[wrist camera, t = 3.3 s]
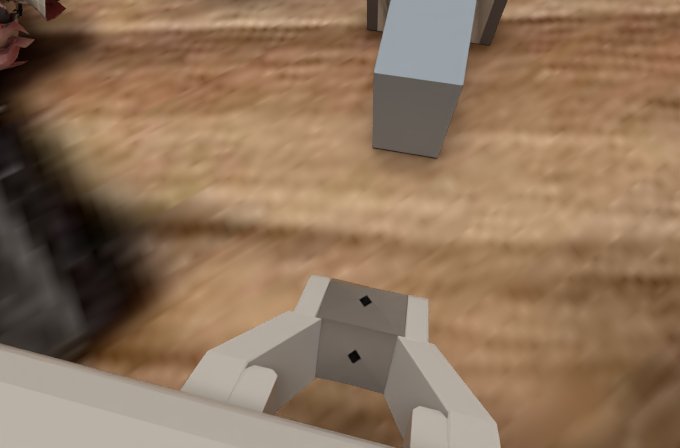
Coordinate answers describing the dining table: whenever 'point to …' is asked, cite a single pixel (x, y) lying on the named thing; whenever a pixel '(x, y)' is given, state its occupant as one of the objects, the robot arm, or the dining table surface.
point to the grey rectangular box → (420, 73)
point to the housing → (484, 21)
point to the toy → (20, 27)
